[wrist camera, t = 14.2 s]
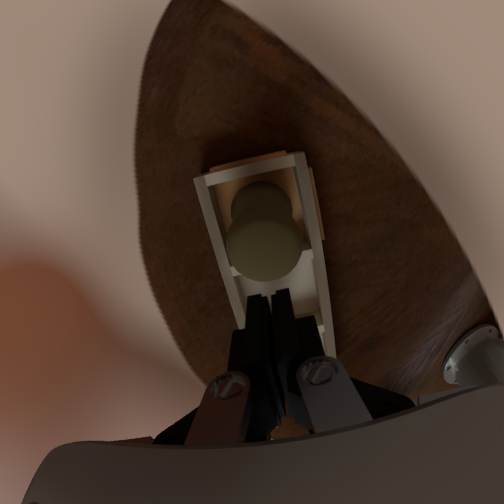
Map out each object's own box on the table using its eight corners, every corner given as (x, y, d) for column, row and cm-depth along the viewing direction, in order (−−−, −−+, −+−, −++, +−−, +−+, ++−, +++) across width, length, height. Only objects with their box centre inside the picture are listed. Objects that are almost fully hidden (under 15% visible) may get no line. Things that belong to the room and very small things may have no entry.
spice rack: (301, 146, 27) (307, 146, 23) (335, 363, 37) (341, 381, 33) (199, 170, 28) (192, 174, 24) (262, 378, 37) (262, 396, 34)
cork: (217, 210, 28) (196, 251, 18) (263, 168, 27) (268, 184, 17) (260, 252, 30) (262, 311, 20) (305, 213, 28) (332, 255, 18)
